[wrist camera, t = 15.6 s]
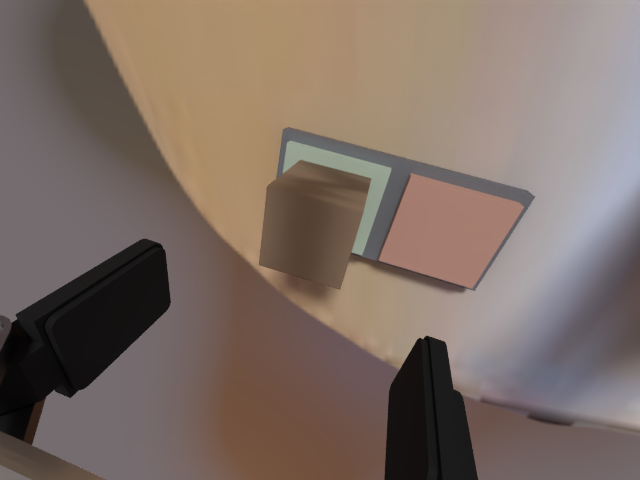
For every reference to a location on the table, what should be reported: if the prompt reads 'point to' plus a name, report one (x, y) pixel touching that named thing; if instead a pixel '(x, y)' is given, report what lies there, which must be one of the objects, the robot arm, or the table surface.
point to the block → (312, 222)
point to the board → (419, 209)
